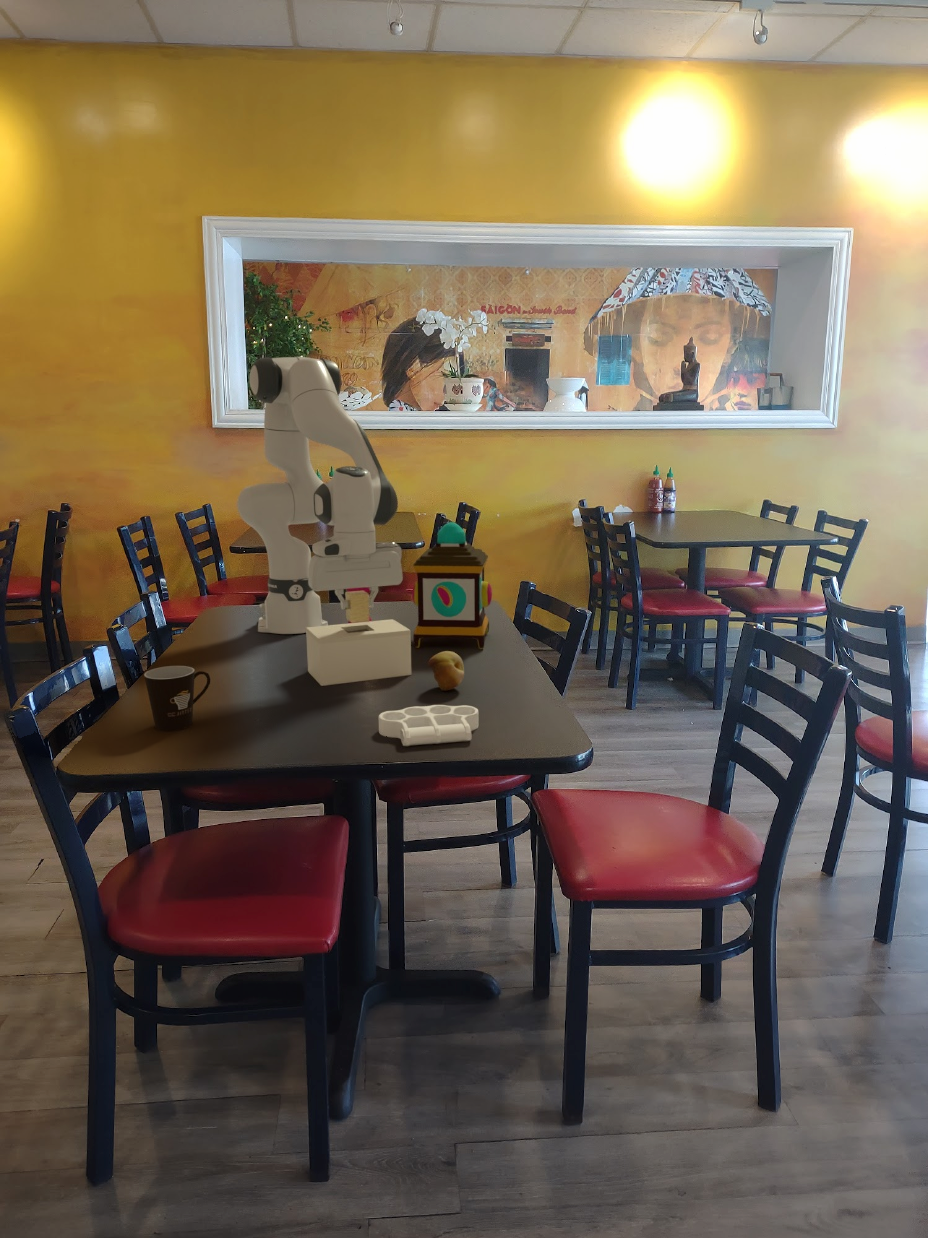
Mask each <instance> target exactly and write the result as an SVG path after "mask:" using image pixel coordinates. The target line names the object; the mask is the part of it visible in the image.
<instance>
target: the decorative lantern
mask: <svg viewBox="0 0 928 1238" xmlns="http://www.w3.org/2000/svg"><path fill="white" fill-rule="evenodd" d="M466 538H467V537H466V533H465V530H464V529H463V528H462V527H461V526H460V525H459V524H458V523H456V522H451V521H450V522H447V523H445V524H444V525H443V526H442V527H441V528H440V529H439V530H438V533H437V542H436V543H435V544H434V545H433V547H432V548H427V549H426V550H425V551H424V552H423V553H422V554H421V555H420V557H418V558H417V559H416V560H415V562H414V563H413V565H412V566H413V569H414V572H415V573H416V576H417V580H416V581H415V582H414V584H413V586H412V590H411V593H412V594H411V597H412V602H413V604H414V605H415V606H416V607H417V612H418V613H417V618H418V621H417V626H416V627H415V629H414V632H413V636H412V637H413V638H412V639H413V645H414V648H416V649H418V648H420V646H421V640H422V638H423V639H424V638H425V639H426V638H430V639H431V638H432V639H433V638H434V639H435V638H436V639H437V638H438V639H474V640H476V641H477V645H478V649H479V650H482V649H484V648H485V647H484V646H485V640H486V639H485V638H486V637H485V636H486V635H487V634H488V633H489V630H490V621H489V618H488V616H487V614H486V613H485V612H486V611H485V608H487V607H489V606H490V605H491V602H492V596H493V589H492V586H491V584H490V583H489V582H488V581H485V565H486V563H487V561H488V558H489V555H488V554H486V552H484V551H482V549H480V548H475V546H472V545H471V543H470V542H469V543H468V541H467V539H466Z"/></svg>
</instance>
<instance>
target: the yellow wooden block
mask: <svg viewBox="0 0 928 1238" xmlns="http://www.w3.org/2000/svg"><path fill="white" fill-rule="evenodd" d="M344 592H345V593H344V595H345V600H348V601H349V609H346V610H345V617H346V618H345V619H346V620H347V621H350V622H351V623H353V622H364V621H369V615H370V607H369V595H370V594H368V593H367V592H365V591H352V592H348V591H344Z"/></svg>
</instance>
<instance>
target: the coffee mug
mask: <svg viewBox="0 0 928 1238" xmlns="http://www.w3.org/2000/svg"><path fill="white" fill-rule="evenodd" d="M200 675H203V676H205V678H206V683H205V686H204V687H203V689H202V691H201V692H199V694H197V696H195V697H194V693H195V690H194V689H195V679H196V678H197V677H198V676H200ZM143 677H144V681H145V685H146V689H147V693H148V694H147V695H148V700H149V704H150V708H151V714H152V718H153V722H154V728H155V729H156V730H158V731H162V732H175V731H181V730H184V729H185V730H186V729H188V728H189V727H191V726H192V725H193V716H194V714H193V713H194V704H195V703H197V702H198V701H199V700H200V699H201V697H202V696H203V695H204V694H205V693H206V691H207V690H208V689H209V687H210V684H211V677H210V674H209V673H208V672H207V671H202V670H201V671H197V672H196V671H195V668H193V667H192V666H188V665H187V666H186V665H169V666H161V667H157V668H151V669H150V670H147V671H145V672H144V673H143Z"/></svg>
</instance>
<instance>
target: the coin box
mask: <svg viewBox="0 0 928 1238" xmlns="http://www.w3.org/2000/svg"><path fill="white" fill-rule="evenodd" d="M411 632H412V631H411V629H409V628H408V627H406V626H405V625H403V624H401V623H400V622H398V621H396V620H395V619H393V618H392V619H383V620H382V619H380V620H372V621H369V622H359V623H348V622H347V623H340V624H328V625H327V626H317V627H306V633H305V634H306V637H305V638H306V654H307V657H306V658H307V672H308V673H309V674H310V675H311V677H313V679H314V680H315V681H316V682H317V683H318V684H319V685H320V686H322V687H323V686H331V685H339V684H347V683H355V682H362V681H364V682H365V681H371V680H372V681H373V680H379V679H387V678H397V677H405V676H406V677H407V676H412V646H411V645H412V643H411V642H412V641H411V640H412V639H411V637H412V636H411V634H412V633H411Z"/></svg>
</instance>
